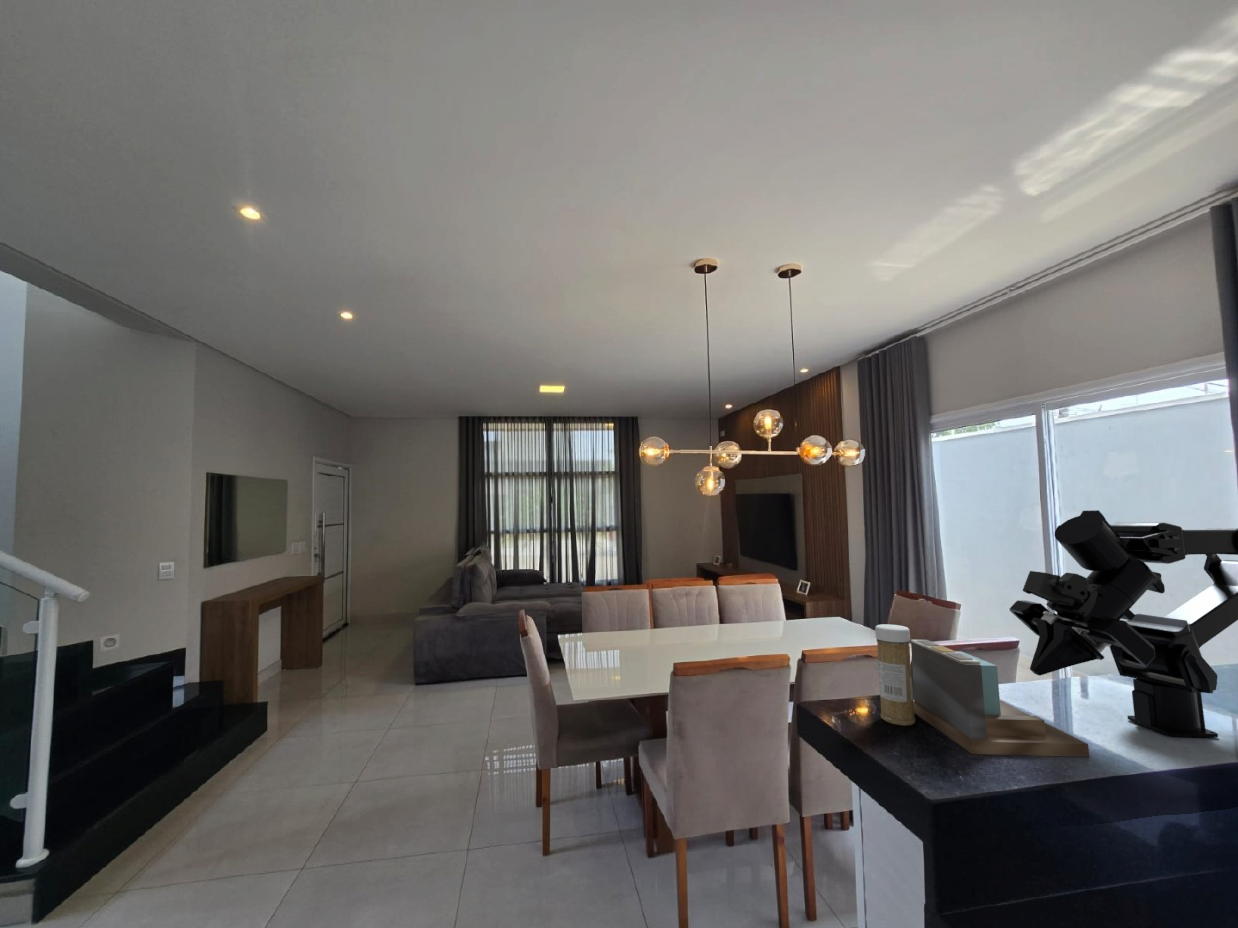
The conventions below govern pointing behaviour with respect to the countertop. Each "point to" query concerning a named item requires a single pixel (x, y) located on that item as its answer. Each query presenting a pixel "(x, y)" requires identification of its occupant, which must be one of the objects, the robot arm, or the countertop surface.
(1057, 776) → the countertop surface
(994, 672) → the paddle button
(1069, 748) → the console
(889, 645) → the sprinkles bottle
